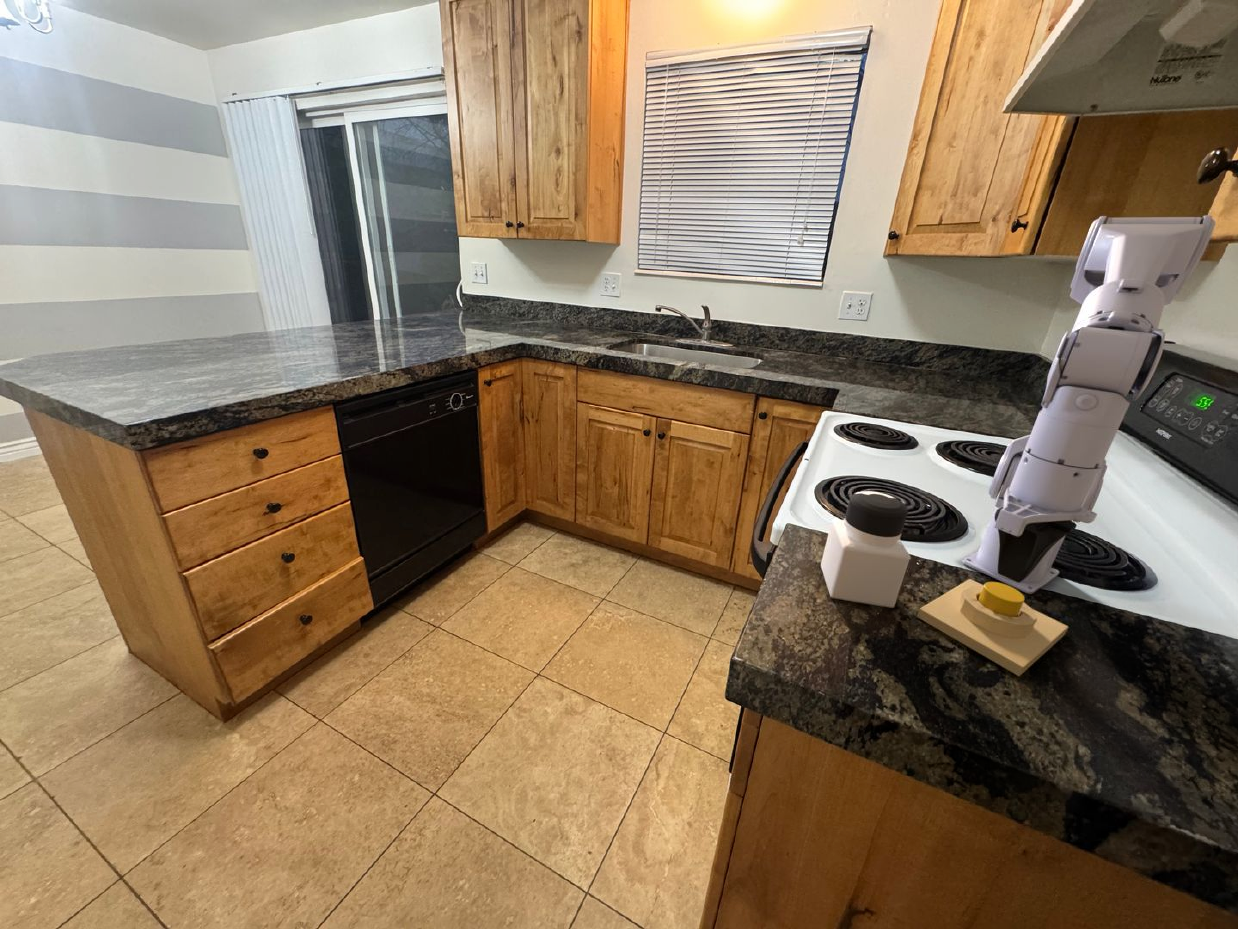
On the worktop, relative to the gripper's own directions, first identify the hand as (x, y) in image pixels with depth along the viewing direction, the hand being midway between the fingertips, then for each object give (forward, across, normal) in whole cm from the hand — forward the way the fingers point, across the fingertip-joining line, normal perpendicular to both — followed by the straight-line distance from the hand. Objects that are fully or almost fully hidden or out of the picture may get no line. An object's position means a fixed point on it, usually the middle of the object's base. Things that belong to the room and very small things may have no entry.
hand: (1010, 576), depth 53 cm
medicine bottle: (+7, -7, +12) cm, 15 cm away
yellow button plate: (+7, 0, 0) cm, 7 cm away
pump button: (+4, 0, 0) cm, 4 cm away
